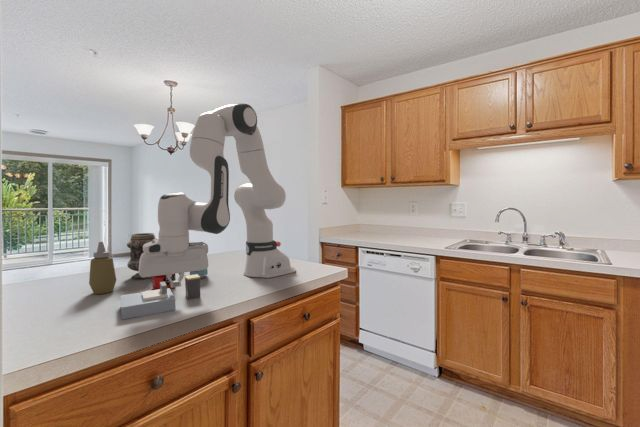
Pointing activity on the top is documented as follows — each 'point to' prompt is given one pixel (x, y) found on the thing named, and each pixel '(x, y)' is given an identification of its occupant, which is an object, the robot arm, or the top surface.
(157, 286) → the canned food
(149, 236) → the apothecary jar
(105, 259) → the squeeze bottle
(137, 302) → the socket block
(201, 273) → the beverage can
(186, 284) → the plug
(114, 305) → the top surface
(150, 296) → the panel
